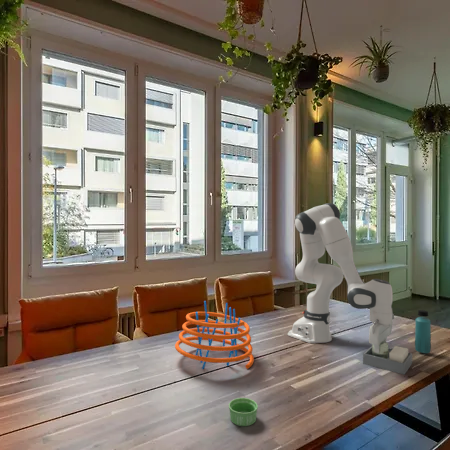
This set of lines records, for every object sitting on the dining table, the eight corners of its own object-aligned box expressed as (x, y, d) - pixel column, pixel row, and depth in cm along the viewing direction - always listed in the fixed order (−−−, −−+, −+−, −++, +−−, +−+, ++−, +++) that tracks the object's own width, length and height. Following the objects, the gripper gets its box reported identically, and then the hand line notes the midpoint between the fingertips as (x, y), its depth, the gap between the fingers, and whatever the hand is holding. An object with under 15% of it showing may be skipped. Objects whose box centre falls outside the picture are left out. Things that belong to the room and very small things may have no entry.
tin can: (369, 362, 149) (369, 342, 149) (374, 358, 153) (375, 338, 153) (385, 366, 144) (385, 346, 144) (390, 362, 149) (390, 342, 149)
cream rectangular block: (389, 368, 143) (389, 352, 143) (395, 360, 151) (395, 345, 150) (402, 372, 140) (402, 356, 139) (408, 364, 147) (408, 348, 147)
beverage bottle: (433, 357, 157) (434, 313, 156) (417, 355, 158) (417, 312, 158) (427, 351, 163) (428, 309, 163) (412, 350, 165) (413, 308, 164)
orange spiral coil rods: (204, 342, 177) (210, 295, 177) (266, 363, 157) (272, 310, 158) (156, 359, 148) (163, 303, 148) (225, 387, 129) (233, 323, 129)
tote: (362, 365, 147) (363, 353, 147) (372, 355, 158) (373, 344, 158) (404, 376, 137) (404, 364, 137) (412, 365, 148) (412, 353, 148)
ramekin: (233, 409, 114) (233, 395, 113) (260, 413, 111) (260, 400, 111) (225, 424, 105) (225, 410, 105) (254, 430, 102) (254, 415, 102)
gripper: (381, 324, 139) (380, 358, 139) (395, 314, 154) (394, 345, 155) (365, 321, 143) (364, 354, 143) (380, 311, 158) (379, 341, 159)
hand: (380, 349), depth 149 cm, fingers open, 7 cm apart
